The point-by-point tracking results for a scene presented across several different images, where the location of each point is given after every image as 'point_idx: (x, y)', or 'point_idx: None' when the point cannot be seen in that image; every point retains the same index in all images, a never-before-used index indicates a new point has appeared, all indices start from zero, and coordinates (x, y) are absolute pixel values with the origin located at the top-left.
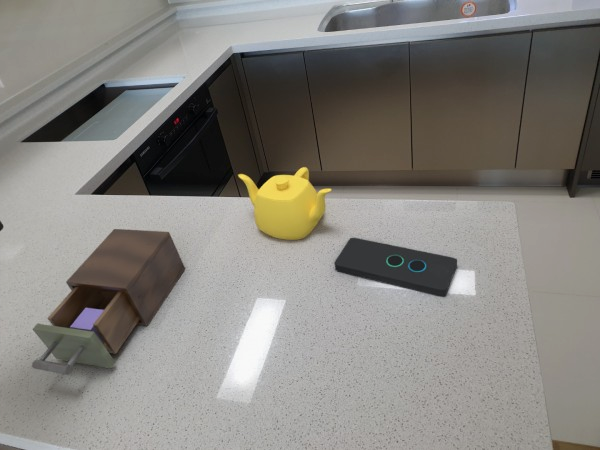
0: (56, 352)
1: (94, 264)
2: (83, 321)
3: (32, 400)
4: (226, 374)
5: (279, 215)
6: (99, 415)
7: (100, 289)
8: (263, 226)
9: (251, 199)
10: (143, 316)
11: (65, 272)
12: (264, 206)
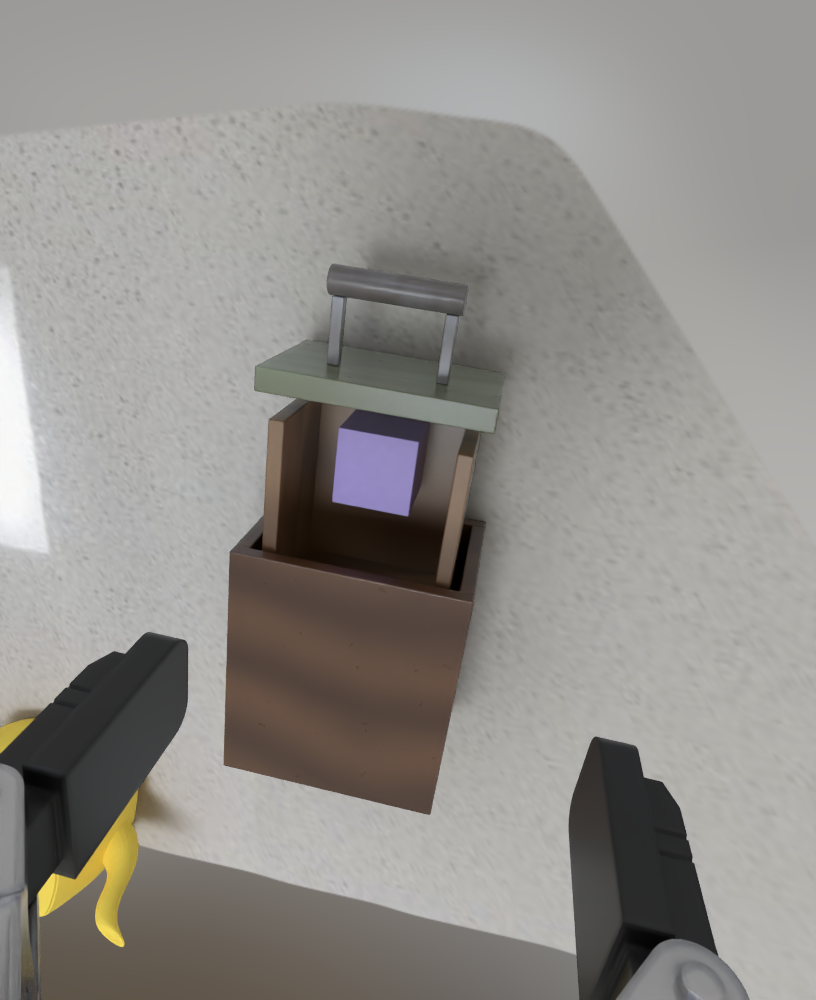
0: (477, 376)
1: (407, 667)
2: (383, 461)
3: (520, 235)
4: (16, 332)
5: None
6: (279, 198)
7: None
8: None
9: (123, 856)
10: None
11: (677, 708)
12: None
